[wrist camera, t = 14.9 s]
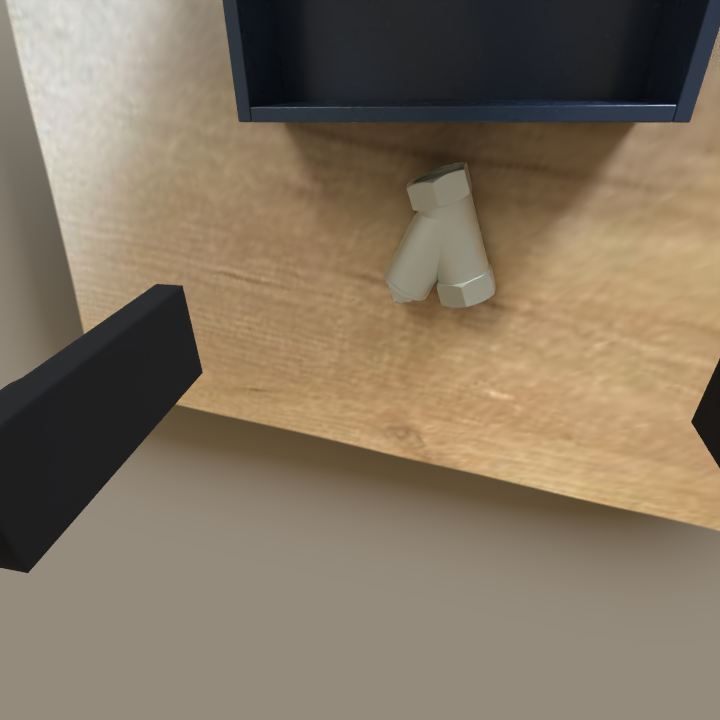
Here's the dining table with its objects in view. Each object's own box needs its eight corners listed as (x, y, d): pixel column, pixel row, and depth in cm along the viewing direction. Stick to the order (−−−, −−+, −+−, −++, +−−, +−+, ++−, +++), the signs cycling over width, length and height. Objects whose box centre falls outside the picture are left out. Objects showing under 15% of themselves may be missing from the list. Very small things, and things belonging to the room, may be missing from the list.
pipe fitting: (402, 299, 35) (496, 277, 32) (391, 324, 31) (494, 303, 29) (365, 191, 31) (467, 157, 28) (348, 207, 28) (461, 170, 25)
